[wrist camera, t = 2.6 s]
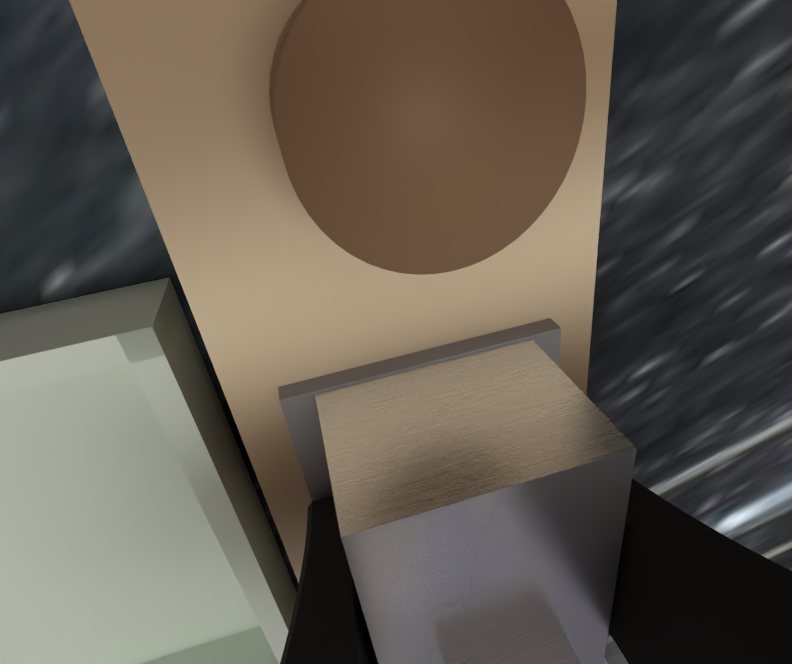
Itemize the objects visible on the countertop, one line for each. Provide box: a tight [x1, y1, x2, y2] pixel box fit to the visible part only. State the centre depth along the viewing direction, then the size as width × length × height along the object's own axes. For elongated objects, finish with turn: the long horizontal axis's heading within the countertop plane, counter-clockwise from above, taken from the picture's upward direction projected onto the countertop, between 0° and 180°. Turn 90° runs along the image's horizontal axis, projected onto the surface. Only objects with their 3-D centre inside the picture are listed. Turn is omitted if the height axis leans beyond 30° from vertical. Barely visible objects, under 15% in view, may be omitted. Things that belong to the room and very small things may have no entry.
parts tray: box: [0, 277, 297, 664], centre depth 12 cm, size 12×11×2 cm
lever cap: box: [315, 338, 637, 664], centre depth 9 cm, size 6×4×4 cm, turn 8°
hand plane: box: [69, 0, 617, 583], centre depth 10 cm, size 18×7×6 cm, turn 8°
